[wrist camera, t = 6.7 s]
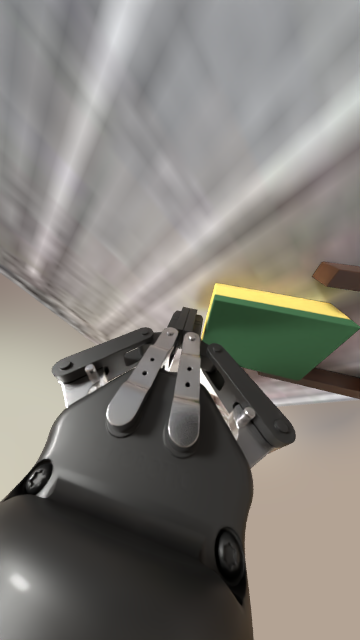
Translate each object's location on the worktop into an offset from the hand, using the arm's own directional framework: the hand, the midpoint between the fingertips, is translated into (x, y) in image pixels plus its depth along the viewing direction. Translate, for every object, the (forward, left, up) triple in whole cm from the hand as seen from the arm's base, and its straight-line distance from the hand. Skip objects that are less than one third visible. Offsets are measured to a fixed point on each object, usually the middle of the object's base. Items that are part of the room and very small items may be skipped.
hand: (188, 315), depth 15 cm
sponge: (0, +7, -1) cm, 7 cm away
